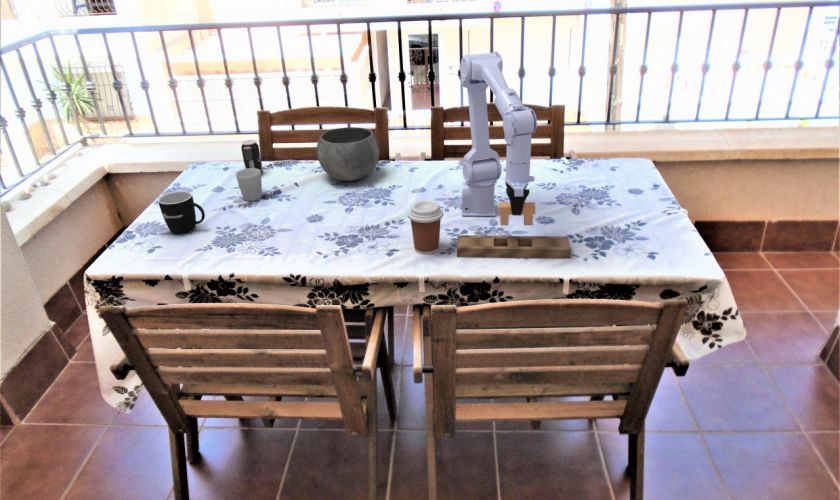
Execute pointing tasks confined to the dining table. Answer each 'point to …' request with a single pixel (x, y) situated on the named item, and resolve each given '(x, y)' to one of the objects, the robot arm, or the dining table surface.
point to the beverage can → (251, 155)
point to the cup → (250, 183)
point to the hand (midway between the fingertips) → (516, 211)
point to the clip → (527, 211)
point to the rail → (513, 246)
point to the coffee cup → (425, 226)
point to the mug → (180, 211)
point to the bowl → (348, 153)
